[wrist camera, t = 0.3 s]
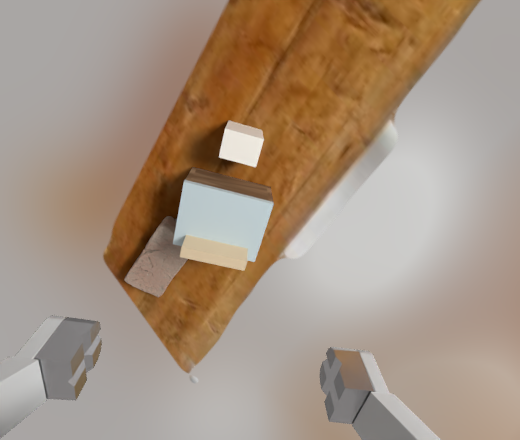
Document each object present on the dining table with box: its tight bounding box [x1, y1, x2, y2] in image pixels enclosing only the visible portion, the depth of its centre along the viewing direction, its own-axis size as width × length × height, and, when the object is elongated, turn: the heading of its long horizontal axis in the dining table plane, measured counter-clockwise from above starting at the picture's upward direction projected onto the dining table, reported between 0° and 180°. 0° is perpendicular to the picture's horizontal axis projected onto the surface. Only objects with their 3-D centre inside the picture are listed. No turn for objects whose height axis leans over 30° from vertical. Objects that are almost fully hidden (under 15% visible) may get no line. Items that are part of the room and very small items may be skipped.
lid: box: [173, 180, 274, 271], centre depth 49 cm, size 12×15×5 cm
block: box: [219, 121, 264, 167], centre depth 48 cm, size 4×6×8 cm
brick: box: [124, 216, 188, 297], centre depth 60 cm, size 17×8×5 cm, turn 144°
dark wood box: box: [185, 167, 273, 202], centre depth 55 cm, size 12×15×7 cm
